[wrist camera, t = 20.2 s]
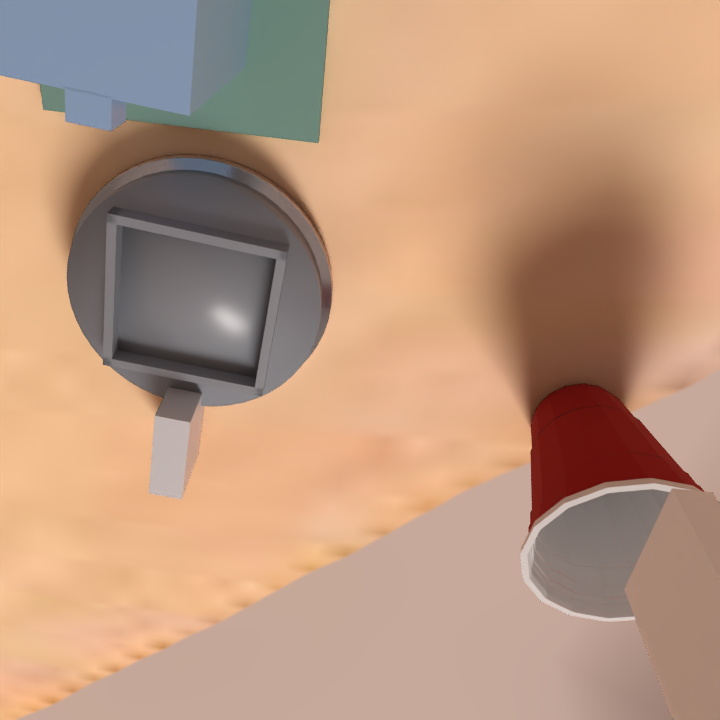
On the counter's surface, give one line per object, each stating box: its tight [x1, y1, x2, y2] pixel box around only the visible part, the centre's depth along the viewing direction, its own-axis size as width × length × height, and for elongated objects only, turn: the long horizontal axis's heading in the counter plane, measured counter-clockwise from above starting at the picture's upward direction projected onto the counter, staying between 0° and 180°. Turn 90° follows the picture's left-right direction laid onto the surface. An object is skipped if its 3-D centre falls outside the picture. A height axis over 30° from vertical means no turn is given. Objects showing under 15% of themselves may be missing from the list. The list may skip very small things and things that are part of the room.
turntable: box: [67, 170, 323, 499], centre depth 38 cm, size 14×19×4 cm
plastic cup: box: [520, 384, 720, 622], centre depth 39 cm, size 11×11×12 cm
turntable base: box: [72, 154, 333, 362], centre depth 40 cm, size 15×15×1 cm
